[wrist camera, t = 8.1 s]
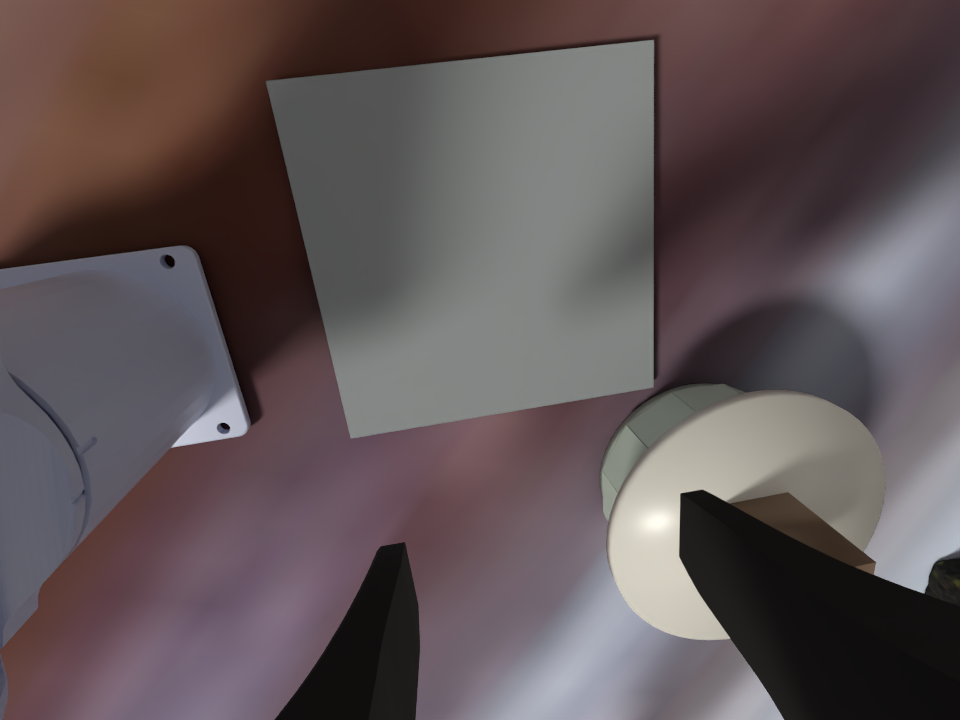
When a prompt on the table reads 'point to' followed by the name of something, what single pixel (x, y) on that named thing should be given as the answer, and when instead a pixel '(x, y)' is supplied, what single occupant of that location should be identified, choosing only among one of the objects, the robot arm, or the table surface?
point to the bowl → (651, 431)
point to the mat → (478, 229)
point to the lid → (744, 494)
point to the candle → (945, 581)
